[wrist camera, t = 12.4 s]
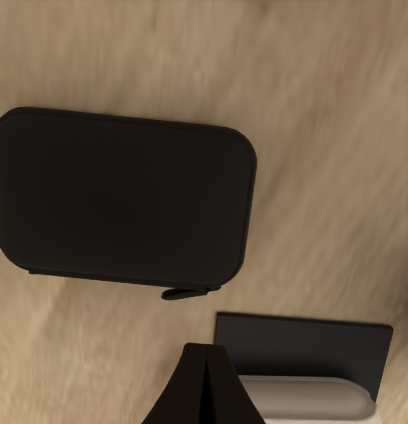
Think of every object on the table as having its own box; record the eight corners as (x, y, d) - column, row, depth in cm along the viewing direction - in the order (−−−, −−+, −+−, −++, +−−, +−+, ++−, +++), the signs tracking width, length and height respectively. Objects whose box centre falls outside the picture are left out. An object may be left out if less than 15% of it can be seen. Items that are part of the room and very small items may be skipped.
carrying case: (16, 272, 21) (235, 293, 21) (-15, 294, 18) (240, 318, 18) (9, 105, 19) (257, 131, 19) (-28, 99, 16) (266, 130, 16)
